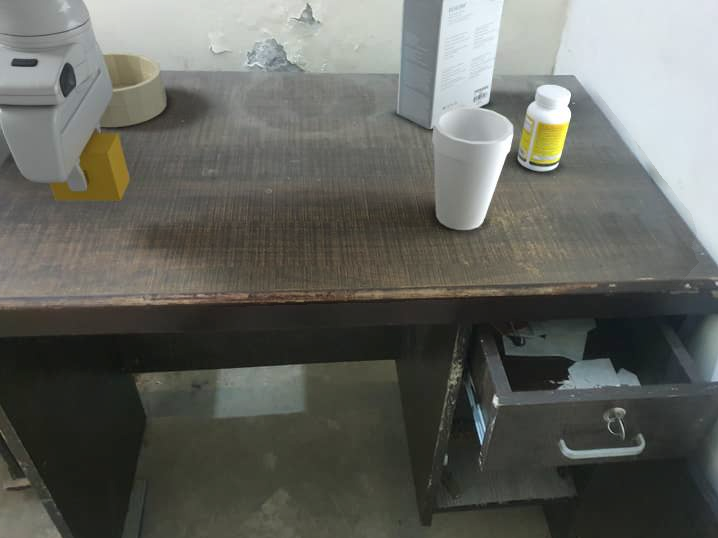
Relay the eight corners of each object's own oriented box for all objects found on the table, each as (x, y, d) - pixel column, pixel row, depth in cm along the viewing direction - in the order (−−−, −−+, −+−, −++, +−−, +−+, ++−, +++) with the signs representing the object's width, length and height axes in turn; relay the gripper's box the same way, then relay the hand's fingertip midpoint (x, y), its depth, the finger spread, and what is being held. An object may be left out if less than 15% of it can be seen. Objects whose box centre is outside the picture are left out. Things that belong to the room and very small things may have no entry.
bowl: (54, 126, 94) (43, 90, 90) (82, 84, 104) (73, 51, 101) (157, 128, 95) (149, 93, 91) (174, 86, 106) (168, 53, 102)
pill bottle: (565, 163, 95) (585, 92, 88) (543, 177, 91) (561, 105, 84) (531, 147, 98) (547, 78, 90) (508, 161, 94) (523, 90, 87)
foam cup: (414, 200, 85) (423, 109, 76) (477, 192, 87) (492, 103, 79) (439, 242, 78) (452, 148, 70) (507, 232, 81) (527, 140, 72)
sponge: (55, 200, 70) (38, 152, 66) (67, 178, 74) (52, 131, 70) (120, 201, 71) (107, 153, 67) (130, 179, 74) (118, 133, 70)
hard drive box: (455, 88, 112) (471, -34, 99) (489, 104, 108) (510, -22, 95) (394, 114, 103) (402, -17, 90) (429, 131, 100) (442, -3, 86)
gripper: (49, 12, 69) (84, 129, 78) (-28, 94, 54) (27, 226, 63) (109, 14, 70) (137, 129, 79) (50, 96, 55) (93, 226, 64)
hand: (87, 173), depth 71 cm, fingers closed on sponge, 4 cm apart
